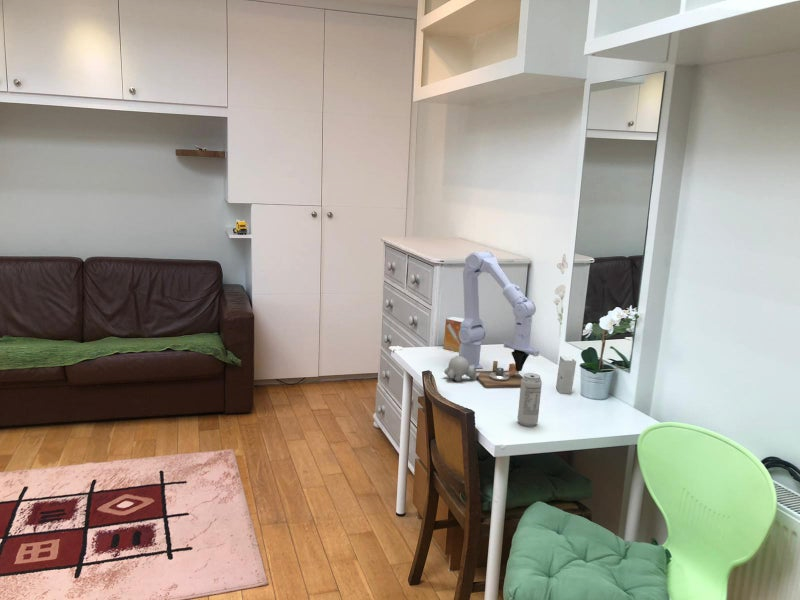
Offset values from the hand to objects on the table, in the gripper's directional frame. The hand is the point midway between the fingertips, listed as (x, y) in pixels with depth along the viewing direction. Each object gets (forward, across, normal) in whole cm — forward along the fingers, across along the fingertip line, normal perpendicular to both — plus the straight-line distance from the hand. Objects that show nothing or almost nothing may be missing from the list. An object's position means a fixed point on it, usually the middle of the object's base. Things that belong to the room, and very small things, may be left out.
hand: (518, 370), depth 244 cm
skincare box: (+4, -17, -5) cm, 18 cm away
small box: (+3, +41, -10) cm, 42 cm away
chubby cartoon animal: (+4, +11, +18) cm, 21 cm away
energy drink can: (+4, -29, +31) cm, 42 cm away
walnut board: (+3, +3, +6) cm, 8 cm away
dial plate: (+2, +3, +5) cm, 6 cm away
